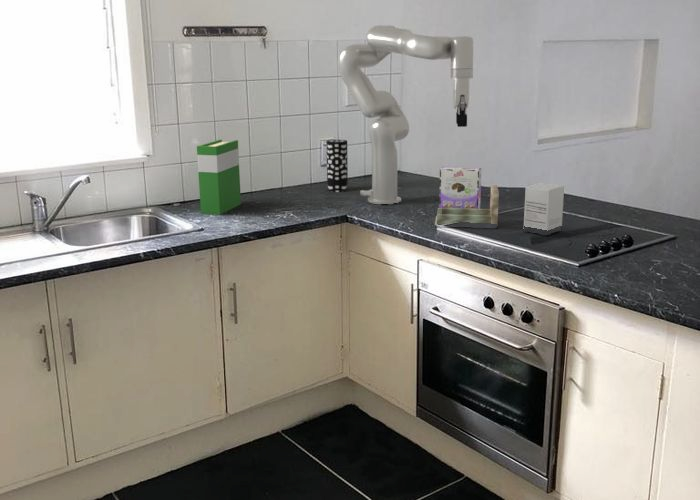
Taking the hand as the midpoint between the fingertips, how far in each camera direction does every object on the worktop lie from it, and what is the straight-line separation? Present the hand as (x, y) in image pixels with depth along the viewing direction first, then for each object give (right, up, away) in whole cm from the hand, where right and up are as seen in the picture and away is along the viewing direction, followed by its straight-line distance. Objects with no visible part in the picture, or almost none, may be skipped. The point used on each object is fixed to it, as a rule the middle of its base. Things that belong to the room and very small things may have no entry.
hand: (461, 125), depth 260 cm
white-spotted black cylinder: (-44, -19, +47) cm, 67 cm away
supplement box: (+23, -37, -20) cm, 48 cm away
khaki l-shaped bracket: (0, -34, -9) cm, 35 cm away
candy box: (0, -31, +5) cm, 31 cm away
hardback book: (-85, -28, +16) cm, 91 cm away
